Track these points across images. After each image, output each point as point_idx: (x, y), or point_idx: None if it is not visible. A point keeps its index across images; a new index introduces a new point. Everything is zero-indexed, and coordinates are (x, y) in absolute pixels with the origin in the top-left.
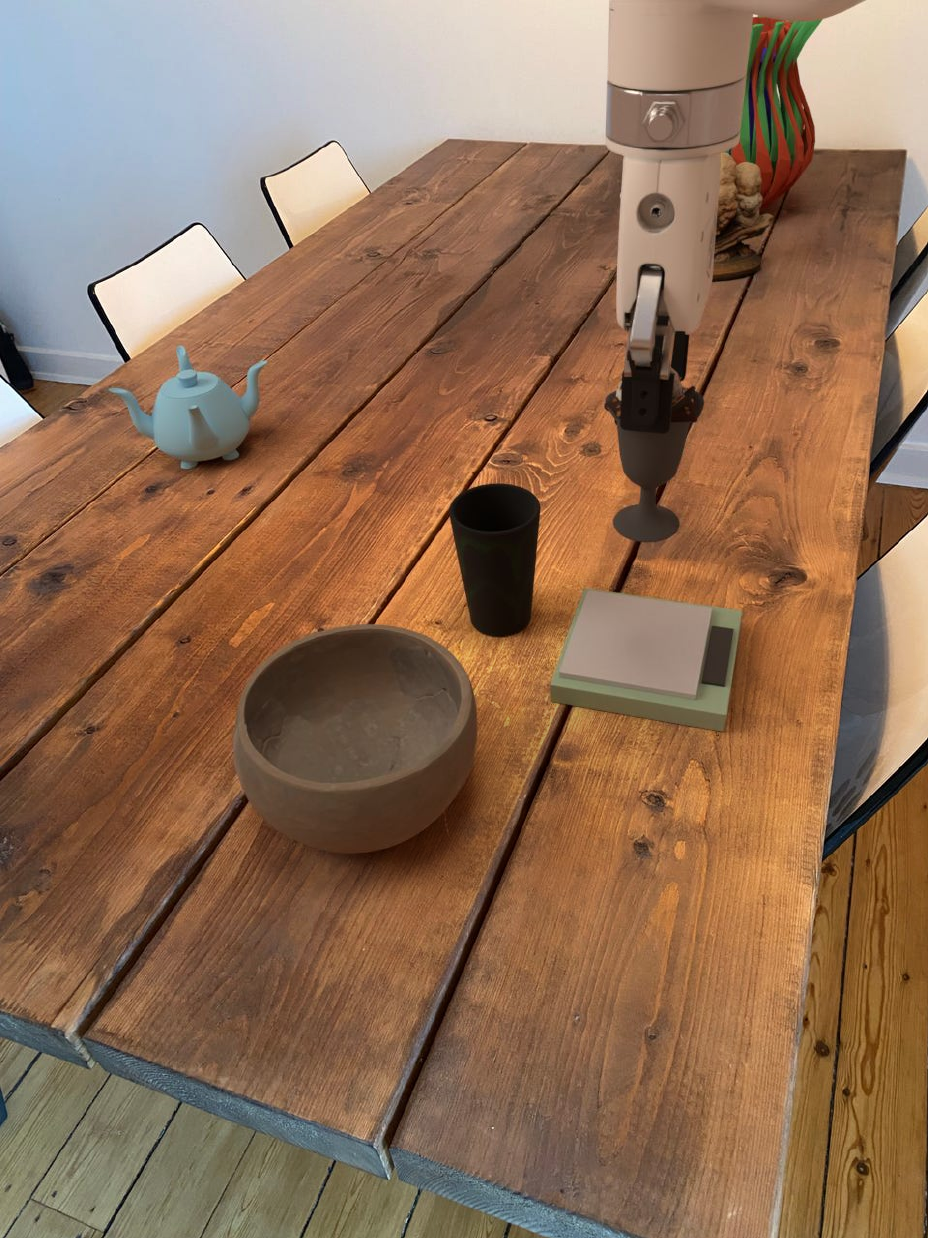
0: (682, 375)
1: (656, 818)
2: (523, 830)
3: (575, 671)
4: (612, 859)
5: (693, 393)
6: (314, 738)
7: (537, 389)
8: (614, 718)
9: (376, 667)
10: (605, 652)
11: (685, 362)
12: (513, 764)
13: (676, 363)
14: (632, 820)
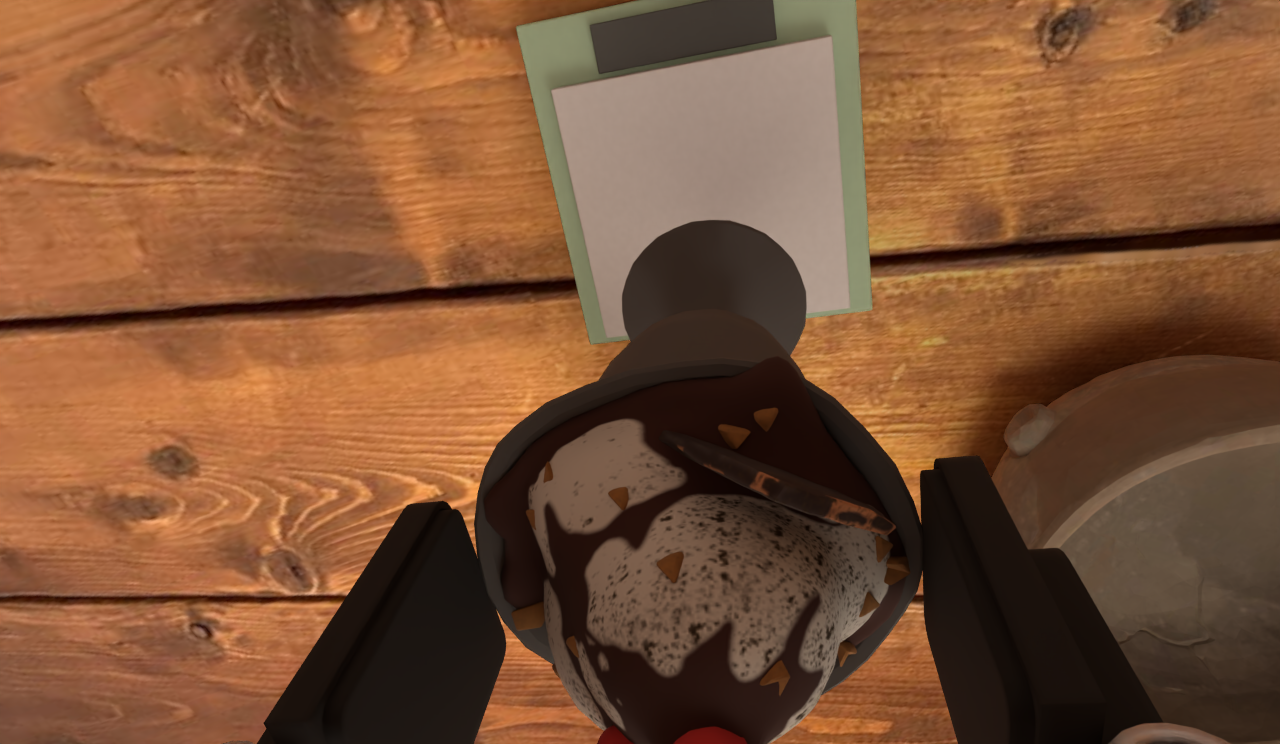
0: (448, 523)
1: (1110, 12)
2: (1181, 226)
3: (839, 281)
4: (1226, 56)
5: (738, 459)
6: (1102, 581)
7: (72, 596)
8: (871, 175)
9: None
10: None
11: (405, 559)
12: (1031, 296)
13: (435, 591)
14: (1123, 54)
